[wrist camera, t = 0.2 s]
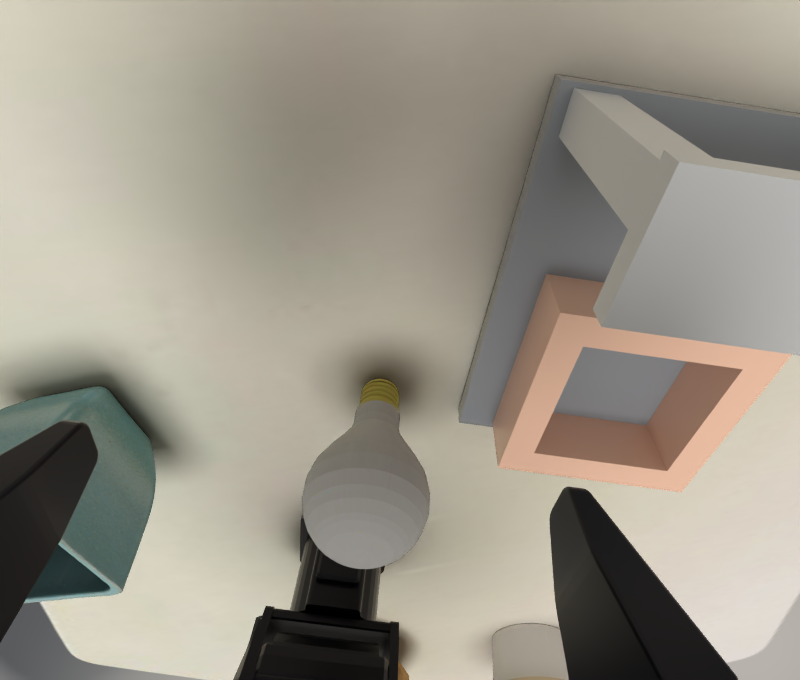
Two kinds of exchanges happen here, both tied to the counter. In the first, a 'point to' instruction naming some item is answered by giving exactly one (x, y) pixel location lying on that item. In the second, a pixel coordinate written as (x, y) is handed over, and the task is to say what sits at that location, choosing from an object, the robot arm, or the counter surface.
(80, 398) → the flower pot
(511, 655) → the coffee cup
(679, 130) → the socket stand
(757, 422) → the counter surface
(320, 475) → the light bulb
